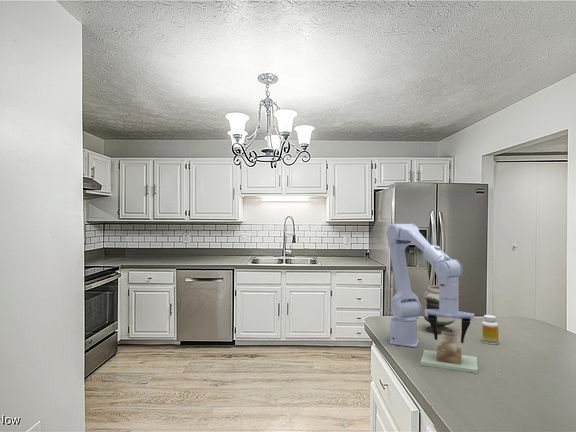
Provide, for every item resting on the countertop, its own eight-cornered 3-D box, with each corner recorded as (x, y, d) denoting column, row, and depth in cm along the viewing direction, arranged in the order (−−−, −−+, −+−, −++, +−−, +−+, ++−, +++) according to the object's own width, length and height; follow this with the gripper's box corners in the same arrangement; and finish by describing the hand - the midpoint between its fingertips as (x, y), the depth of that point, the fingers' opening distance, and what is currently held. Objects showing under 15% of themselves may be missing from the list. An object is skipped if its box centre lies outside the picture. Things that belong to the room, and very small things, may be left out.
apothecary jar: (420, 332, 154) (420, 287, 155) (427, 325, 165) (427, 283, 165) (452, 337, 148) (452, 290, 148) (457, 329, 158) (457, 286, 158)
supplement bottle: (500, 345, 138) (500, 318, 138) (484, 344, 139) (484, 317, 140) (495, 340, 144) (495, 314, 144) (480, 339, 145) (480, 314, 145)
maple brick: (441, 350, 121) (440, 335, 121) (441, 346, 125) (441, 331, 125) (456, 353, 119) (456, 336, 119) (456, 348, 123) (456, 333, 123)
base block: (436, 361, 120) (436, 351, 120) (438, 354, 126) (438, 345, 126) (461, 364, 117) (460, 354, 117) (461, 357, 123) (461, 347, 123)
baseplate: (420, 364, 120) (420, 361, 120) (424, 352, 130) (424, 349, 130) (477, 373, 113) (477, 370, 113) (476, 359, 124) (476, 356, 124)
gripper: (423, 298, 121) (423, 341, 121) (474, 302, 115) (474, 347, 115) (425, 294, 128) (425, 335, 128) (473, 298, 122) (474, 340, 121)
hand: (449, 340), depth 122 cm, fingers open, 7 cm apart
